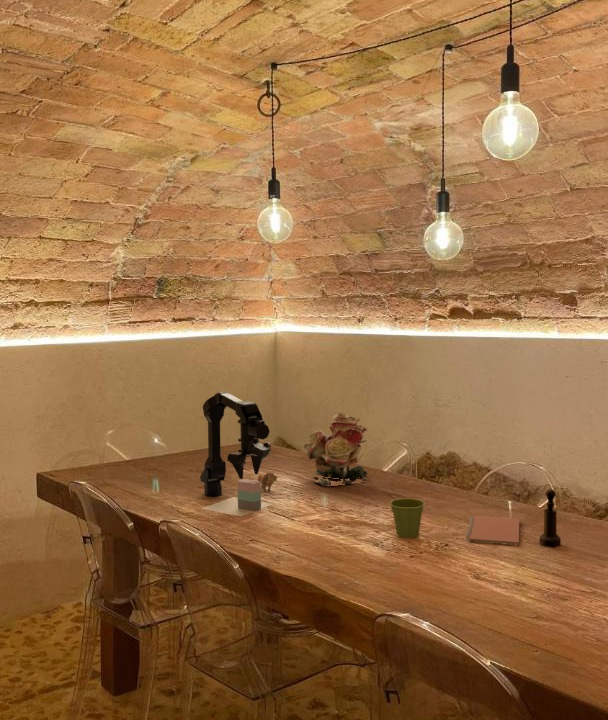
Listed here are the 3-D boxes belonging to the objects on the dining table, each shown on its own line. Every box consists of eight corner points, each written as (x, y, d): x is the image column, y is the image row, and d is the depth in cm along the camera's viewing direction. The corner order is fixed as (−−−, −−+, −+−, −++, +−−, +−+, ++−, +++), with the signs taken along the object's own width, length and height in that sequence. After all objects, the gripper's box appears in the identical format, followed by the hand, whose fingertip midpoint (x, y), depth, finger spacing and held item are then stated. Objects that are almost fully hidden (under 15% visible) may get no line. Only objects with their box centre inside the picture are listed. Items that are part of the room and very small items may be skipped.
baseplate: (200, 510, 291) (200, 499, 290) (233, 498, 307) (233, 488, 307) (241, 518, 280) (241, 507, 279) (273, 505, 296) (273, 495, 296)
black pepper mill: (543, 539, 250) (543, 485, 249) (563, 543, 247) (563, 488, 245) (536, 545, 245) (537, 490, 244) (557, 548, 241) (557, 492, 240)
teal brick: (237, 499, 290) (237, 490, 290) (244, 496, 294) (244, 488, 293) (254, 502, 286) (254, 492, 286) (260, 499, 289) (260, 490, 289)
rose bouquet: (302, 475, 347) (301, 410, 344) (365, 473, 350) (364, 408, 348) (309, 489, 321) (308, 418, 319) (377, 486, 325) (376, 416, 322)
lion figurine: (279, 493, 315) (278, 472, 314) (268, 495, 312) (267, 473, 311) (261, 486, 327) (260, 466, 326) (250, 488, 324) (249, 467, 323)
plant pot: (393, 529, 264) (392, 497, 263) (427, 531, 260) (427, 499, 260) (386, 539, 253) (386, 506, 252) (422, 542, 249) (422, 508, 248)
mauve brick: (237, 490, 290) (237, 481, 290) (244, 488, 293) (244, 479, 293) (254, 492, 286) (254, 483, 285) (260, 490, 289) (260, 481, 289)
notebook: (470, 520, 275) (470, 514, 275) (519, 523, 271) (519, 517, 270) (465, 543, 249) (465, 537, 249) (518, 547, 245) (518, 541, 244)
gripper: (249, 441, 276) (250, 484, 277) (279, 433, 291) (280, 474, 292) (226, 439, 282) (226, 480, 283) (256, 431, 297) (257, 470, 299)
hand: (248, 476), depth 289 cm, fingers open, 9 cm apart
